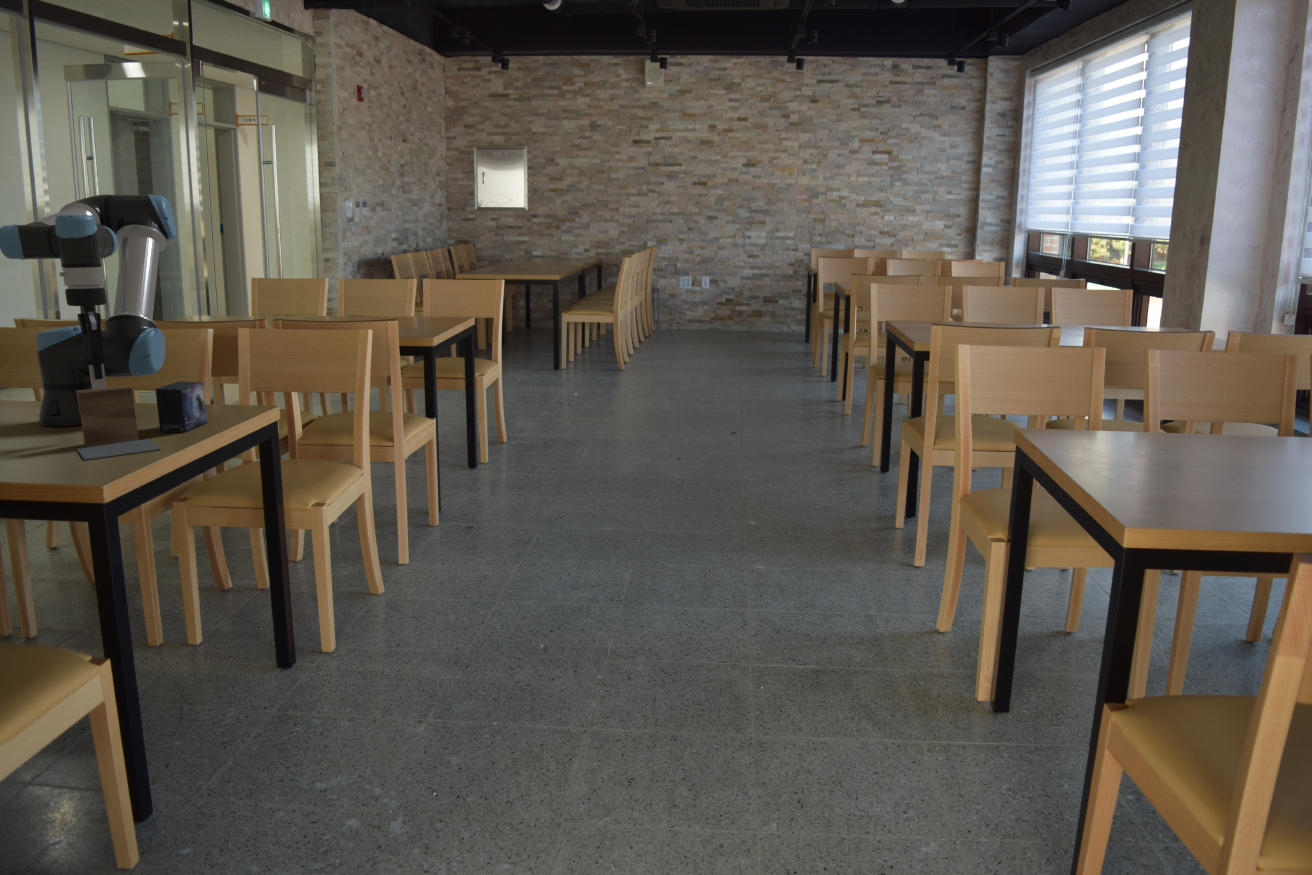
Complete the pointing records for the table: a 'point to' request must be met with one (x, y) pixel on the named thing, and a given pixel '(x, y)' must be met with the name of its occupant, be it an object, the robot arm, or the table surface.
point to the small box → (181, 406)
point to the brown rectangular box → (107, 415)
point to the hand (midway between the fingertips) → (100, 392)
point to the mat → (117, 449)
